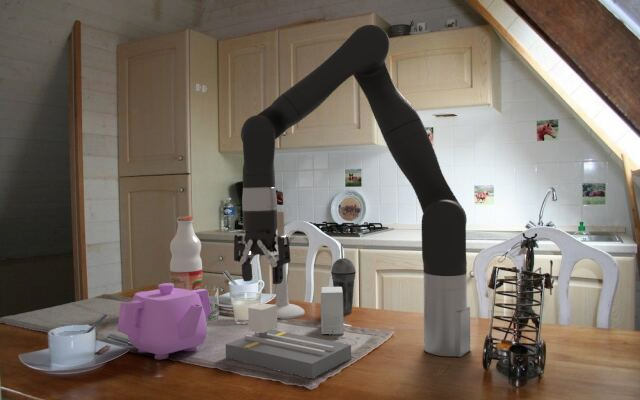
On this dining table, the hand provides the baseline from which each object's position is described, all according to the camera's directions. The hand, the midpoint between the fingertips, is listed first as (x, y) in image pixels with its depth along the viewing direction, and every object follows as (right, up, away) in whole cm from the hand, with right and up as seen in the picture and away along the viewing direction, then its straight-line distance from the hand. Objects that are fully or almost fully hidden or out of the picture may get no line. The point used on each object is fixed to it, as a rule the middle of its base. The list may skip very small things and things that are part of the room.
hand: (262, 282), depth 116 cm
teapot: (-22, -16, +4) cm, 28 cm away
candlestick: (+2, -15, +36) cm, 39 cm away
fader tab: (0, -12, +1) cm, 12 cm away
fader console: (+6, -16, -3) cm, 17 cm away
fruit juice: (-27, -15, +43) cm, 54 cm away
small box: (+16, -15, +18) cm, 28 cm away
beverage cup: (+20, -15, +37) cm, 45 cm away
